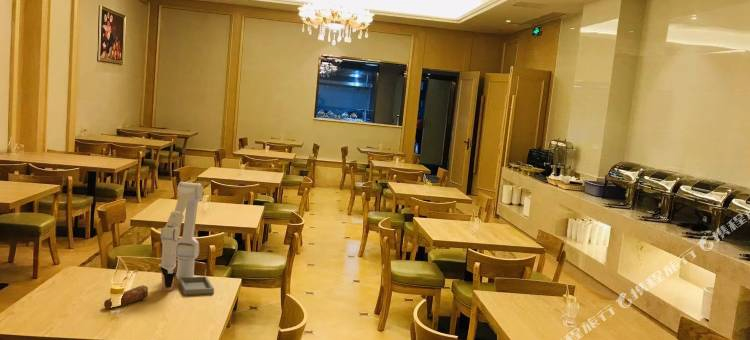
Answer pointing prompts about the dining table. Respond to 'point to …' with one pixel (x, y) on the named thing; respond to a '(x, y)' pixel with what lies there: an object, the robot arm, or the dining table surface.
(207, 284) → the serving tray
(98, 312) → the dining table surface
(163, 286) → the cup
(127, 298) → the bread
